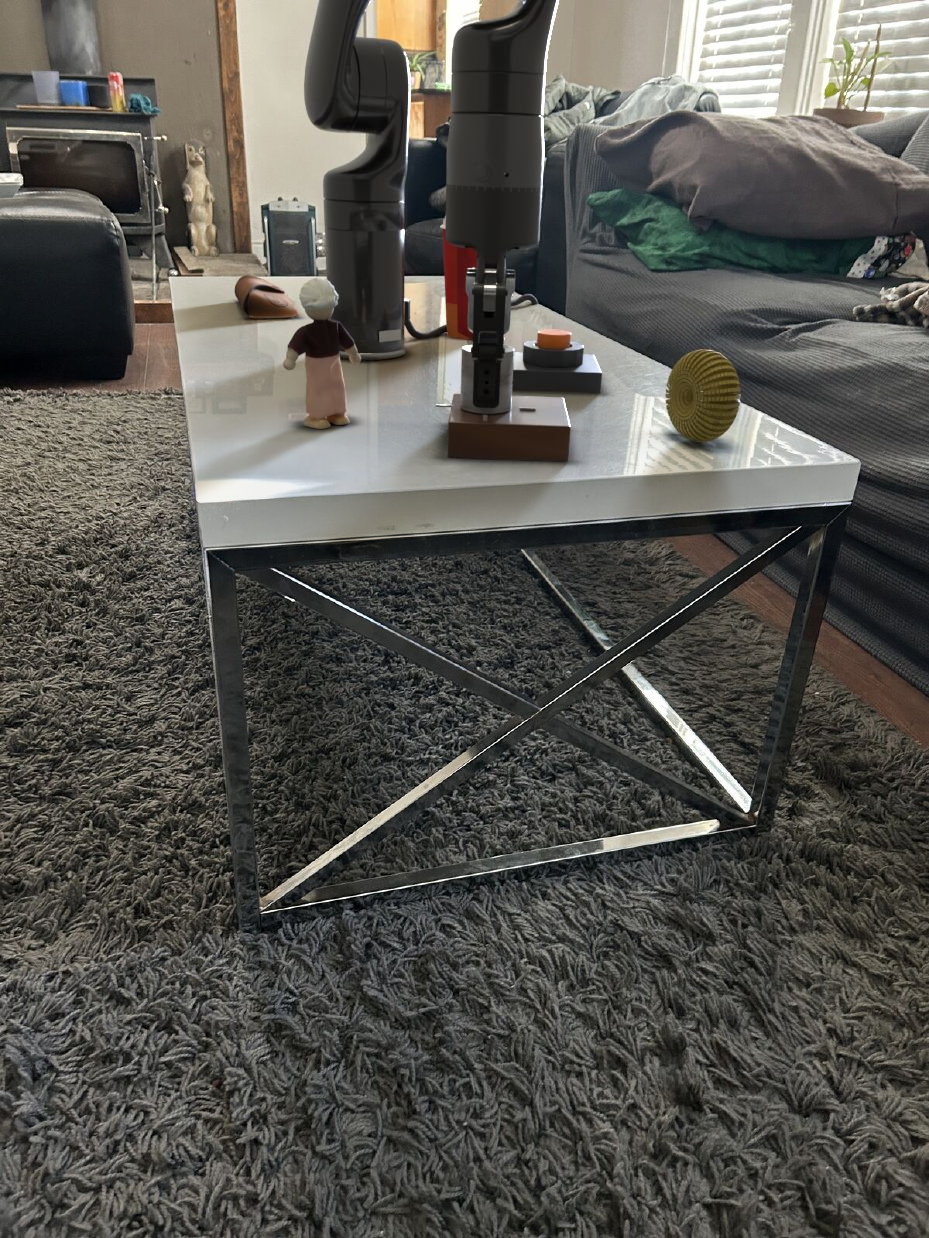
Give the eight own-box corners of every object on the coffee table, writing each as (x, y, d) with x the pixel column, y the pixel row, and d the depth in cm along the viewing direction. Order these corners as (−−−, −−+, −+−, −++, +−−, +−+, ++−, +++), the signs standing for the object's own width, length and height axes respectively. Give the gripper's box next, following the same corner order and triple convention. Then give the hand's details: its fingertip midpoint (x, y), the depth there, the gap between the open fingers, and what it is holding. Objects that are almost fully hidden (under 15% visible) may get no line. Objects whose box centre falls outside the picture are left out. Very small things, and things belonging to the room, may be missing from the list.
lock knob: (461, 400, 84) (462, 339, 82) (511, 402, 84) (514, 340, 82) (459, 413, 80) (460, 348, 78) (511, 415, 80) (514, 350, 78)
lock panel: (438, 425, 88) (439, 391, 87) (561, 429, 88) (563, 395, 86) (431, 457, 79) (432, 419, 78) (568, 462, 79) (571, 424, 78)
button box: (505, 370, 110) (507, 335, 109) (592, 373, 110) (595, 338, 108) (506, 390, 101) (507, 352, 100) (600, 393, 101) (603, 355, 99)
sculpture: (652, 431, 88) (662, 342, 85) (687, 427, 90) (699, 340, 86) (704, 454, 82) (718, 360, 78) (742, 450, 83) (757, 357, 80)
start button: (536, 345, 106) (537, 328, 105) (568, 346, 106) (569, 329, 105) (537, 351, 103) (538, 334, 102) (570, 352, 103) (572, 335, 102)
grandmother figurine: (338, 412, 91) (334, 272, 85) (367, 420, 89) (364, 277, 83) (276, 428, 86) (267, 279, 80) (305, 436, 84) (298, 284, 78)
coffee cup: (509, 334, 131) (515, 216, 125) (480, 343, 125) (484, 219, 118) (457, 327, 135) (460, 213, 129) (426, 336, 129) (427, 215, 122)
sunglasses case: (303, 314, 138) (277, 273, 135) (262, 341, 138) (235, 300, 135) (287, 297, 154) (264, 259, 150) (251, 320, 154) (226, 283, 150)
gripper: (546, 186, 68) (532, 423, 75) (539, 179, 81) (527, 382, 88) (441, 182, 68) (437, 419, 76) (450, 176, 81) (446, 380, 88)
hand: (486, 398), depth 82 cm, fingers closed on lock knob, 4 cm apart
